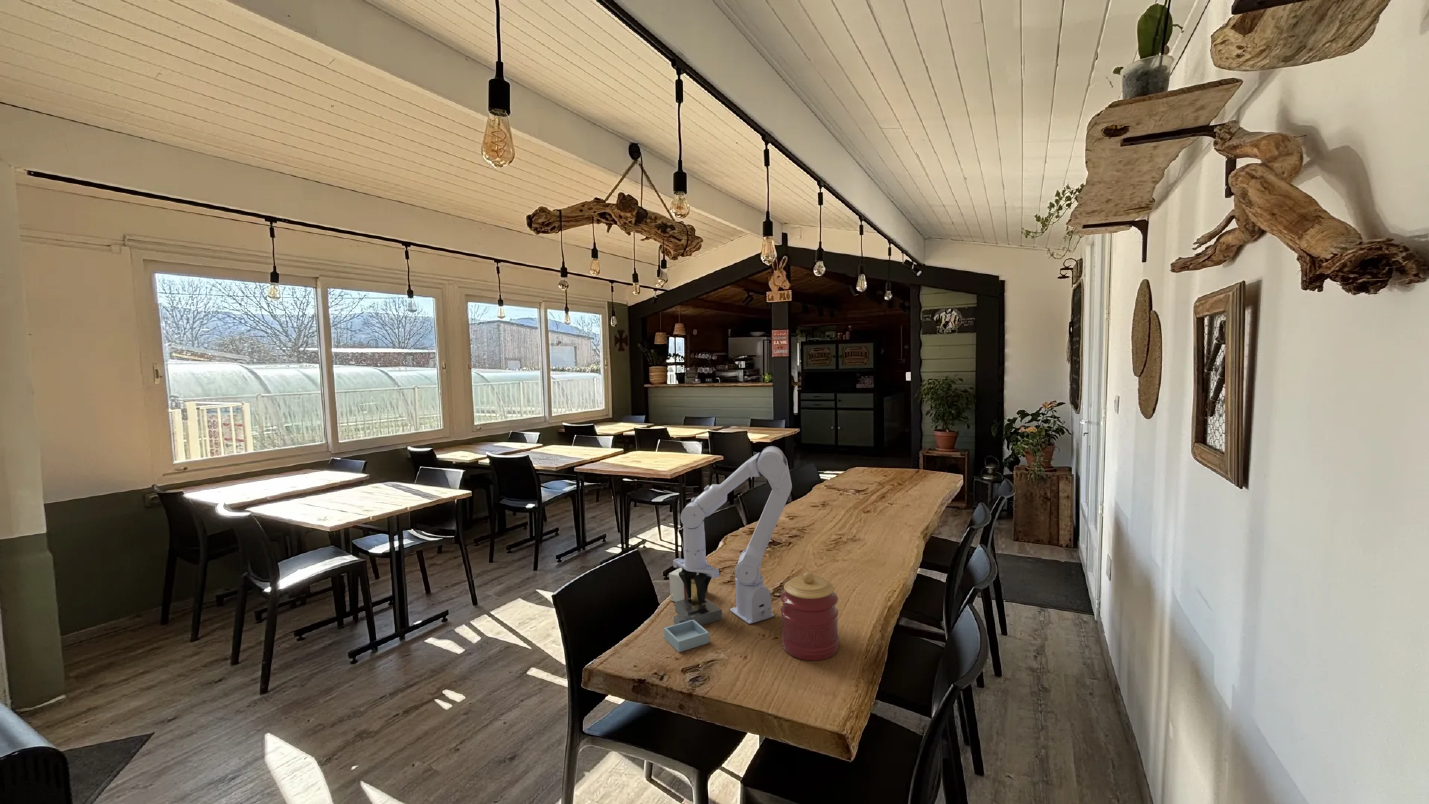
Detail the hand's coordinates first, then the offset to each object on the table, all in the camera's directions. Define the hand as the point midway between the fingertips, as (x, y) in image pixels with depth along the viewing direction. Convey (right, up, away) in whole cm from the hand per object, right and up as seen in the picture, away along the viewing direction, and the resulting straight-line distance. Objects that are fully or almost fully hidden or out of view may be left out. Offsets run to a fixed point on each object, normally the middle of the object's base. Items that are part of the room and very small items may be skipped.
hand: (696, 598), depth 148 cm
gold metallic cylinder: (0, -3, 0) cm, 3 cm away
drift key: (-1, -4, -7) cm, 9 cm away
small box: (+1, +2, +14) cm, 14 cm away
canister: (+27, -4, -20) cm, 34 cm away
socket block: (+1, -4, -2) cm, 4 cm away
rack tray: (-2, -5, -15) cm, 16 cm away
